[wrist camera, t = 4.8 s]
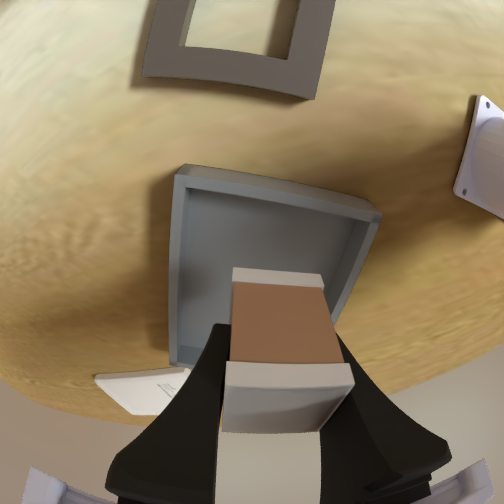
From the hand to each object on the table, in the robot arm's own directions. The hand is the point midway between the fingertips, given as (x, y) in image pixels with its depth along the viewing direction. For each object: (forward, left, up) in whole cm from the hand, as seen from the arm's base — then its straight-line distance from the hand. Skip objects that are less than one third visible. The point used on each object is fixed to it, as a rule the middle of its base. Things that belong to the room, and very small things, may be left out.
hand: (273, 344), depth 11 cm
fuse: (0, -1, -2) cm, 2 cm away
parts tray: (0, +3, -8) cm, 8 cm away
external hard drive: (+8, +20, -9) cm, 23 cm away
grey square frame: (+4, -14, -8) cm, 17 cm away
